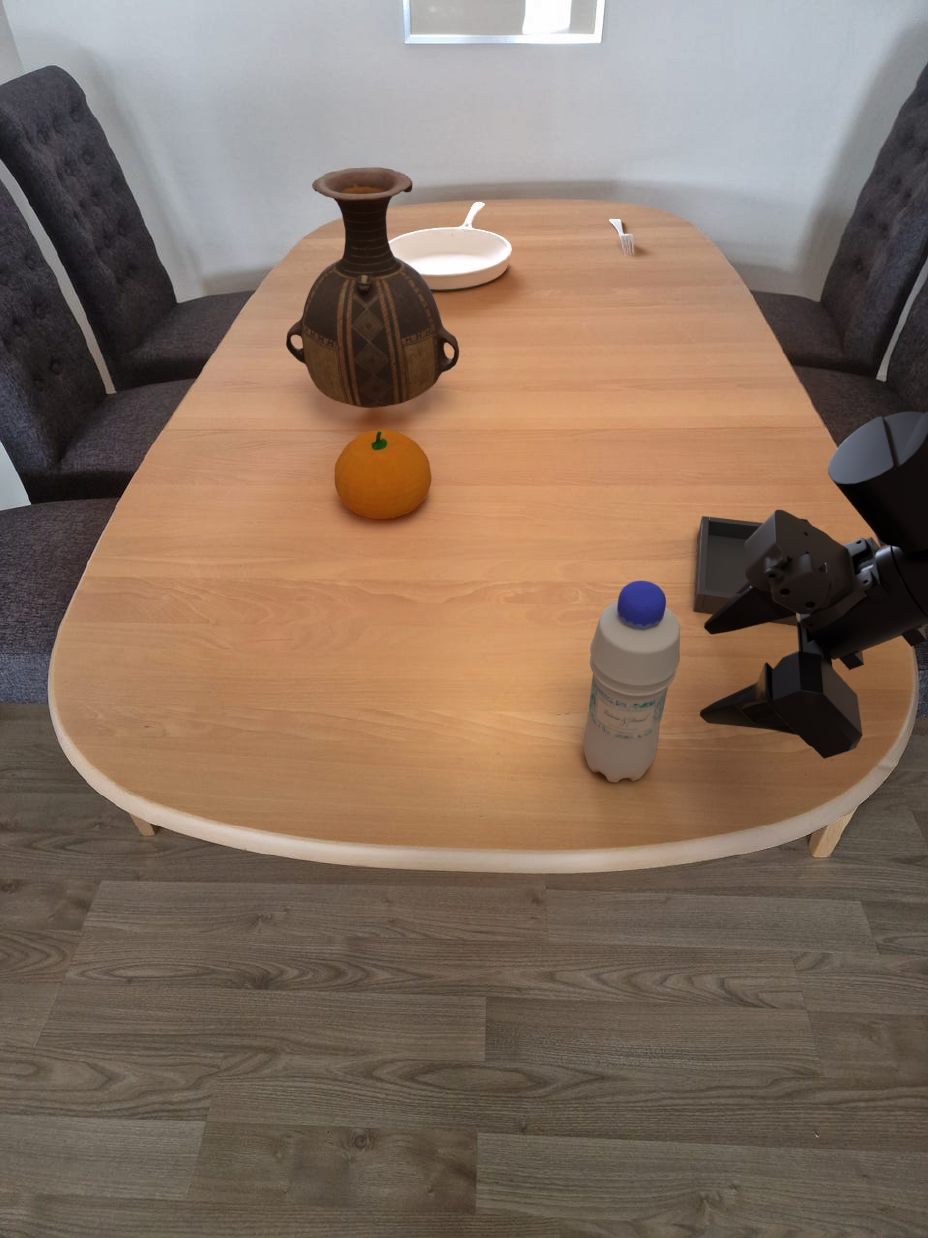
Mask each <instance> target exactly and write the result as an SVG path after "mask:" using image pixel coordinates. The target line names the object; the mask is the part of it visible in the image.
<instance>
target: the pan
mask: <svg viewBox="0 0 928 1238" xmlns="http://www.w3.org/2000/svg"><path fill="white" fill-rule="evenodd" d="M485 206H486V204H485V203H484V202H480V201H479V202H474V203H473V205H472V206H471V208H470V210H469V212H468V214H467V216H466V217H465V221H464V222H463V224H461V225H459V226H456V227H453V226H451V227H436V228H426V229H420V230H416V231H412V232H407V233H405V234H401V235H399V236H397V237H394V238H393V239H391V240H388V242H389V245H390V249H391V251H392V253H393V255H394V256H395V257H396V258H398V259H400V260H402V261H403V262H405V263H407V264H408V265H410V266H411V267H413V268H414V269H415V270H416V271H418V272H419V274H420V275H421V276H422V277H423V279H424V280H425V282H426V283H427V285H428V286H429V288H430V290H431V291H434V292H435V291H436V292H443V291H445V292H447V291H459V290H465V289H471V288H476V287H479V286H482V285H485V284H487V283H490V282H493V281H494V280H495V279H497V278H498V277H500V276H501V275H503V274H504V273H505V271H506V270H507V268H508V265H509V263H510V260H511V259H510V258H511V254H512V252H513V248H512V244H511V243H510V241H509V240H507V239H506V238H505V237H503V236H501V235H499V234H497V233H495V232H491V231H487V230H483V229H477V228H474V227H473V226H472V225H473V222H474V220H475V218H476V216H477V214H478V213H479V212H480V211H481V210H482V209H483V208H484V207H485Z"/></svg>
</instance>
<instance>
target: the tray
mask: <svg viewBox="0 0 928 1238" xmlns="http://www.w3.org/2000/svg"><path fill="white" fill-rule="evenodd" d="M763 523H764V522H758V521H749V520H740V519H733V518H724V517H715V516H704V515H702V516H701V519H700V524H699V529H698V533H697V551H696V565H695V566H696V567H695V579H694V580H695V581H694V595H693V612H697V613H703V614H711V615H713V614H714V613H715V612H717V611H718V610H719V609H720V608H721V607H722V606H723V605H724V604H725V603H726V602H727V601H728V600H729V599H730V598H731V597H732V596H733V595H734V594H735V593H736V592H737V591H738V590H739V589H740V588H741V587H742V586H743V585H744V584H745V583H746V582H747V581H748V579H747V577H746V575H745V566H746V563H747V553H746V549H745V542H746V541H747V540H748V539H749V538H750V537H751V536H752V534H753V533H754V532H755V531H756V530H757V529H758V528H759V527H760V526H761V525H762V524H763ZM770 623H774V624H775V623H776V624H784V625H789V626H790V625H791V626H797V618H796V616H792V617H788V618H784V619H780V620H776V621H771V622H770Z"/></svg>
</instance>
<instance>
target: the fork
mask: <svg viewBox="0 0 928 1238" xmlns="http://www.w3.org/2000/svg"><path fill="white" fill-rule="evenodd" d="M608 221H609V222H610V223H611V224H612V225H613V227H614V228H615V229H616V231H617V233H618V234H617V236H619V239H620V242H621V243H620V244H621V246H622V251H623V254H624V256H626V254H627V256H630V257H631V256H632V255H633V257H634V256H635V240H634V234H633V233H624V230H623V221H622V219H620V218H610V219H608Z"/></svg>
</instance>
